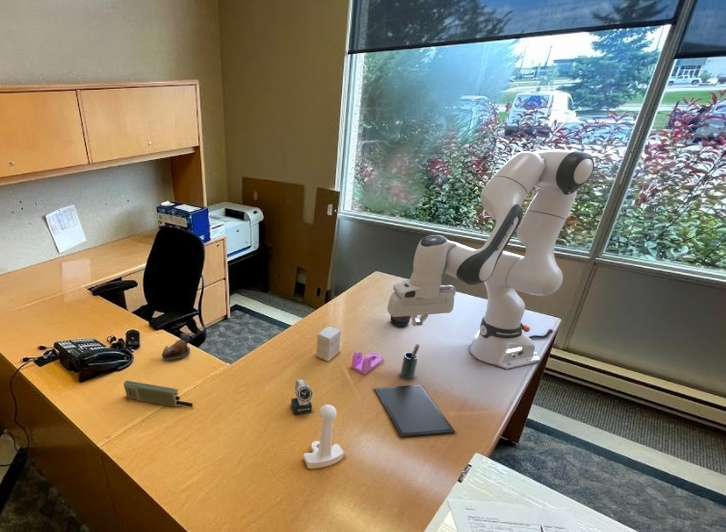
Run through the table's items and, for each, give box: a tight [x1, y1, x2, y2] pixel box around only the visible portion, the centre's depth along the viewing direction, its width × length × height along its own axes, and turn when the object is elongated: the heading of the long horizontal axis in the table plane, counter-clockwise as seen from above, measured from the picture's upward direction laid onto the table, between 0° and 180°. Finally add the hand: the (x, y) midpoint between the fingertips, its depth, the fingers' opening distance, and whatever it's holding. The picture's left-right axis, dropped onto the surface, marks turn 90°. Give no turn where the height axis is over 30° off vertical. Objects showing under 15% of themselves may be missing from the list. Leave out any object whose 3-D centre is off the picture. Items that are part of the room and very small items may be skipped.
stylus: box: [410, 343, 421, 359], centre depth 143 cm, size 1×1×15 cm
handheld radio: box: [123, 380, 193, 408], centre depth 143 cm, size 7×3×25 cm
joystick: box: [302, 404, 345, 469], centre depth 114 cm, size 11×8×20 cm
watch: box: [290, 379, 314, 415], centre depth 134 cm, size 6×8×11 cm
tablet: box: [374, 384, 455, 438], centre depth 133 cm, size 16×22×1 cm
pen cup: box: [400, 351, 419, 380], centre depth 146 cm, size 4×4×9 cm
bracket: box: [351, 350, 383, 375], centre depth 153 cm, size 13×6×7 cm, turn 129°
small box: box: [315, 325, 342, 362], centre depth 160 cm, size 8×6×10 cm
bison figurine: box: [161, 332, 191, 361], centre depth 165 cm, size 12×7×10 cm, turn 106°
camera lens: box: [390, 315, 411, 328], centre depth 175 cm, size 8×8×15 cm
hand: (416, 325), depth 137 cm, fingers closed
